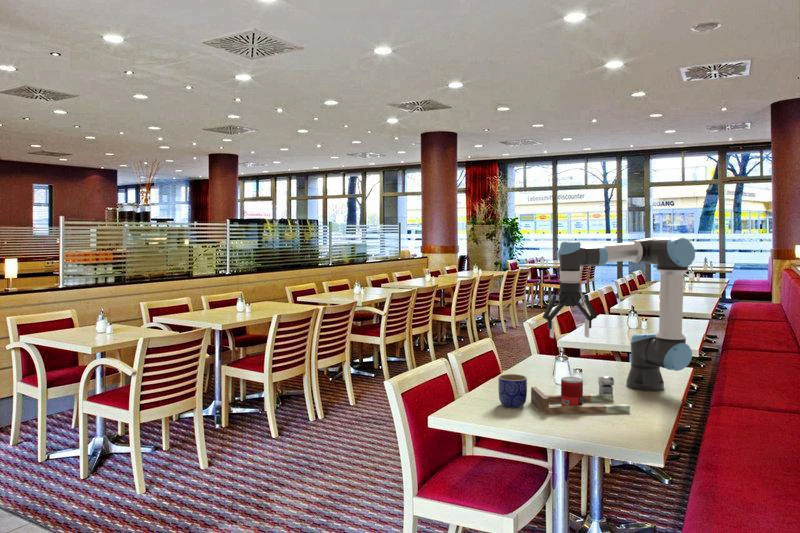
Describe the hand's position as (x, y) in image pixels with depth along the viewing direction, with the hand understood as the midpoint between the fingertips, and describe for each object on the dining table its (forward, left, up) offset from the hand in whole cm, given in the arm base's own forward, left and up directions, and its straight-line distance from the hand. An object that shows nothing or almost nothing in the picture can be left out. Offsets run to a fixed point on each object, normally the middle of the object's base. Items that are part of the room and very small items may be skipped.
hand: (569, 337), depth 232 cm
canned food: (-1, +1, -27) cm, 27 cm away
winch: (-19, -10, -27) cm, 34 cm away
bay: (-4, +1, -27) cm, 27 cm away
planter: (+21, -3, -27) cm, 35 cm away
